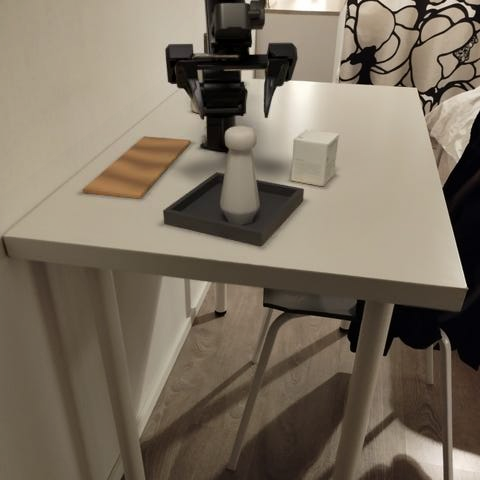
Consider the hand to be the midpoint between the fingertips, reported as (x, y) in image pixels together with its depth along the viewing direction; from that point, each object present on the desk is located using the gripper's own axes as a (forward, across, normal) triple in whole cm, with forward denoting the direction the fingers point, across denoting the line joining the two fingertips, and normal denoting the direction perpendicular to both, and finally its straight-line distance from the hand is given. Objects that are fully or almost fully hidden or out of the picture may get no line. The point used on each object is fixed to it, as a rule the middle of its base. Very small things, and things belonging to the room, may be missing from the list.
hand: (235, 117), depth 74 cm
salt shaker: (+14, 0, +4) cm, 15 cm away
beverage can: (-28, -3, +45) cm, 53 cm away
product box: (+3, +14, +15) cm, 21 cm away
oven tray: (+12, 0, +7) cm, 13 cm away
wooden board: (-3, -15, +22) cm, 27 cm away
